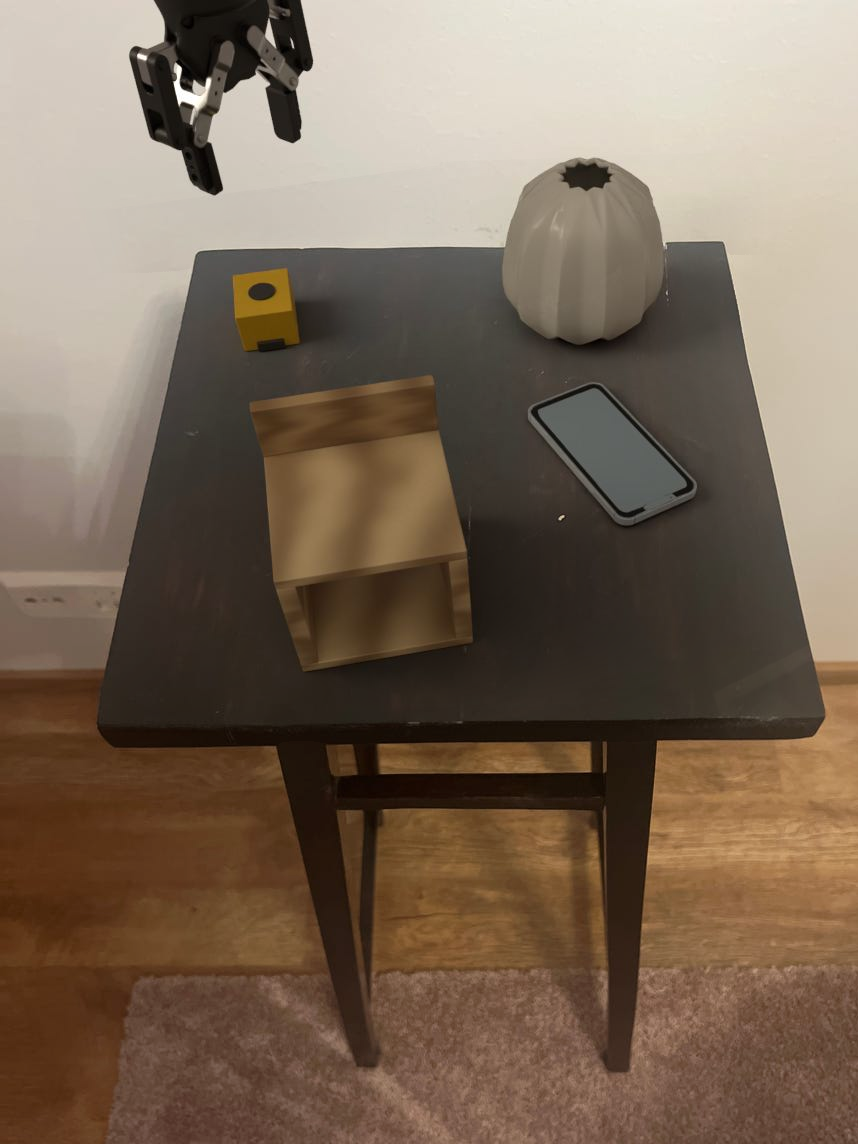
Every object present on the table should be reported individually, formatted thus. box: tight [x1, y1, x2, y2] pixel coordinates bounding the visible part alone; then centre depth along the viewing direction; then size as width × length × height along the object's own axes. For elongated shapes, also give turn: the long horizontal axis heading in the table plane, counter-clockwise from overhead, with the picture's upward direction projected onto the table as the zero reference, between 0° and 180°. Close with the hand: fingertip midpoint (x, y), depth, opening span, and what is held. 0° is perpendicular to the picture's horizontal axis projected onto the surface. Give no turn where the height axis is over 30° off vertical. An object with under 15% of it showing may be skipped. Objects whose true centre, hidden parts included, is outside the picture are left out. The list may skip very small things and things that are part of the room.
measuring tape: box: [232, 267, 301, 352], centre depth 88 cm, size 5×7×4 cm
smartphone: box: [527, 381, 698, 526], centre depth 78 cm, size 7×1×15 cm
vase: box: [501, 157, 665, 346], centre depth 84 cm, size 14×14×13 cm
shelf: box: [249, 374, 474, 673], centre depth 66 cm, size 12×12×14 cm
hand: (250, 164), depth 74 cm, fingers open, 8 cm apart
